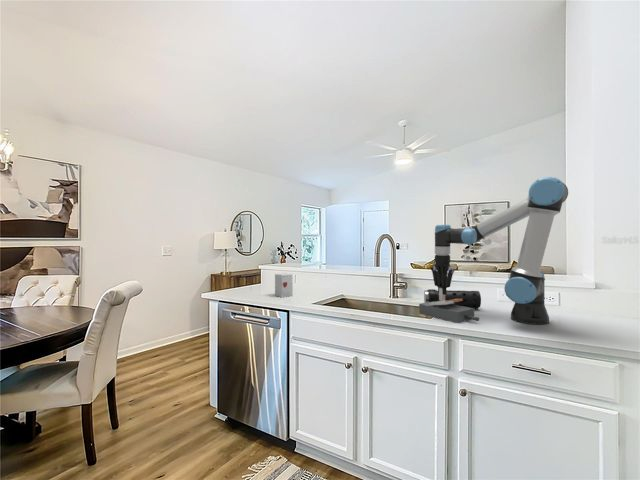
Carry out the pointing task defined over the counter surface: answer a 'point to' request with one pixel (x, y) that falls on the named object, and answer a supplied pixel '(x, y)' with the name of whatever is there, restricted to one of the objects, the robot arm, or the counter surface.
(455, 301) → the orange slotted plate
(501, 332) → the counter surface
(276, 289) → the supplement box
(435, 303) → the light grey flat plate
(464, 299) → the muzzle brake
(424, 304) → the switch module
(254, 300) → the counter surface
